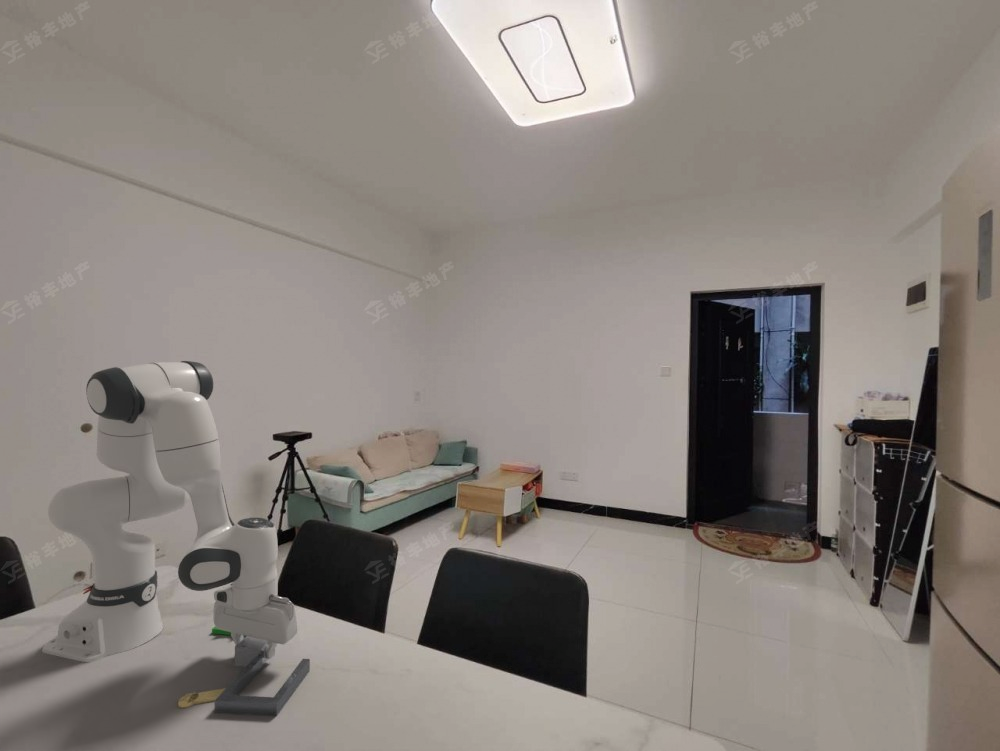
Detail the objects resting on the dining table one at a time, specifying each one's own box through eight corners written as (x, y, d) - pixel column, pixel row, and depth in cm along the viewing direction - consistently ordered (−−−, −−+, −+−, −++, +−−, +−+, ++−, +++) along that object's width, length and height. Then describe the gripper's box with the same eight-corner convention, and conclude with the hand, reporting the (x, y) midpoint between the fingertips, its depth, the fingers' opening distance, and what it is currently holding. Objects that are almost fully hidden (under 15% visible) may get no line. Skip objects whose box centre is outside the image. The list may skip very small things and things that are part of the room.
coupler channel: (214, 716, 81) (214, 700, 81) (255, 670, 93) (255, 656, 93) (276, 719, 80) (276, 703, 80) (309, 672, 93) (309, 658, 93)
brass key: (175, 712, 82) (175, 706, 82) (182, 700, 85) (182, 694, 85) (222, 704, 84) (222, 697, 84) (227, 692, 87) (227, 686, 87)
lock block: (234, 667, 94) (234, 646, 94) (250, 652, 99) (250, 632, 99) (260, 669, 94) (260, 648, 94) (274, 654, 99) (274, 634, 99)
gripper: (304, 592, 96) (303, 653, 97) (232, 578, 102) (232, 636, 102) (282, 607, 90) (282, 672, 90) (207, 591, 96) (207, 653, 96)
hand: (255, 653), depth 96 cm, fingers closed on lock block, 6 cm apart
